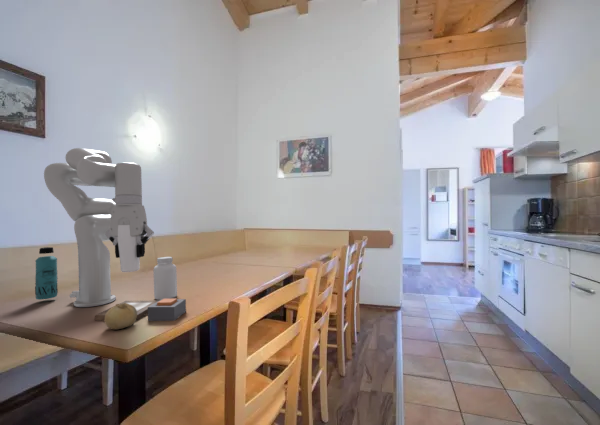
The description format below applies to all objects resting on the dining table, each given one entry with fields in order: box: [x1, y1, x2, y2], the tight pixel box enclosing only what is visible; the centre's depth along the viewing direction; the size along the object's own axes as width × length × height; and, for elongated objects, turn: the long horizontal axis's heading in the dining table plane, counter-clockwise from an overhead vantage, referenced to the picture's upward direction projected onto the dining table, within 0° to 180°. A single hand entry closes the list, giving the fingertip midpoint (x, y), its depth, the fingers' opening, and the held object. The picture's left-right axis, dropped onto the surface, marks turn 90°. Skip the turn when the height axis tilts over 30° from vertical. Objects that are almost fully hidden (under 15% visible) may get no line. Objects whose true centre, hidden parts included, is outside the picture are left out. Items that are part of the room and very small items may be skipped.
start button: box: [157, 297, 178, 306], centre depth 93 cm, size 4×4×3 cm
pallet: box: [94, 299, 159, 321], centre depth 98 cm, size 13×15×2 cm
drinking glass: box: [117, 225, 141, 273], centre depth 98 cm, size 7×7×15 cm
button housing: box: [147, 298, 187, 322], centre depth 93 cm, size 8×8×4 cm
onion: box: [103, 302, 137, 330], centre depth 85 cm, size 8×8×7 cm
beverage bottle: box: [34, 246, 59, 300], centre depth 113 cm, size 6×7×20 cm
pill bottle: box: [153, 256, 178, 300], centre depth 115 cm, size 8×8×15 cm
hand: (130, 256), depth 98 cm, fingers closed on drinking glass, 6 cm apart
